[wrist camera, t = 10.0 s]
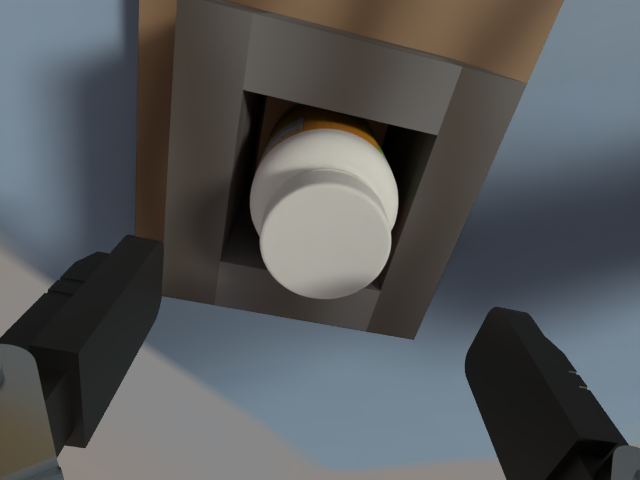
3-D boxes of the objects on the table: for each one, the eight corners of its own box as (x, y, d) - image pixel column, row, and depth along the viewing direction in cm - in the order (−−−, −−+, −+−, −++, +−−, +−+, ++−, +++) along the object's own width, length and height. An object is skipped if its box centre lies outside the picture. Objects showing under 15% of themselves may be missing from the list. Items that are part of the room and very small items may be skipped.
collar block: (553, -12, 20) (719, -29, 12) (421, 297, 29) (463, 412, 21) (153, -126, 18) (13, -246, 10) (143, 246, 27) (65, 350, 19)
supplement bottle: (397, 154, 21) (452, 251, 12) (319, 219, 23) (320, 343, 14) (325, 70, 19) (333, 116, 11) (246, 148, 21) (197, 242, 12)
